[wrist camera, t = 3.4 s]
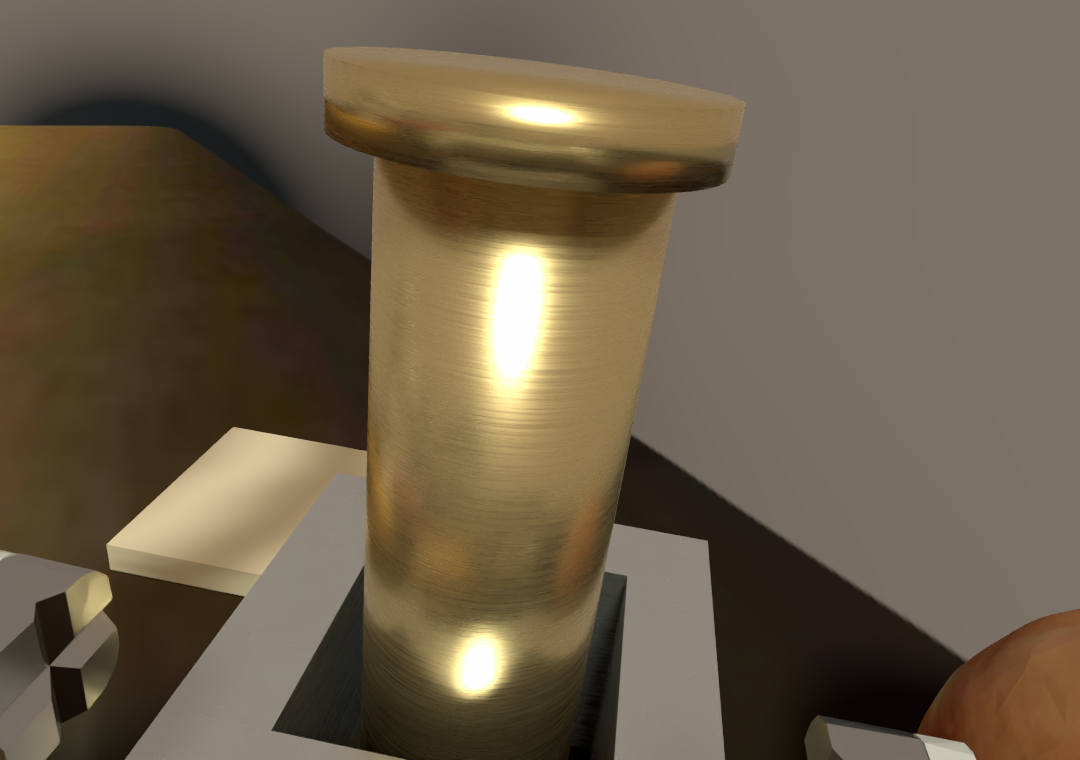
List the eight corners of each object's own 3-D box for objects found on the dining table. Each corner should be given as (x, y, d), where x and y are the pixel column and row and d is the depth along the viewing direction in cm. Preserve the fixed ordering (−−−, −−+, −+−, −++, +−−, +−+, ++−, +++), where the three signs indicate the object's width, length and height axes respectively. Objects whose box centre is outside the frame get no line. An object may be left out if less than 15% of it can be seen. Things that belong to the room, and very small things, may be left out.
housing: (130, 1021, 14) (87, 810, 12) (336, 639, 23) (336, 472, 21) (663, 1156, 14) (740, 960, 11) (664, 706, 23) (707, 541, 20)
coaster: (110, 569, 25) (106, 544, 25) (234, 447, 32) (233, 426, 32) (348, 617, 24) (348, 592, 24) (420, 482, 32) (422, 461, 31)
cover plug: (280, 933, 16) (239, 54, 9) (377, 705, 22) (402, 43, 14) (564, 1000, 16) (770, 128, 8) (590, 750, 21) (729, 87, 14)
